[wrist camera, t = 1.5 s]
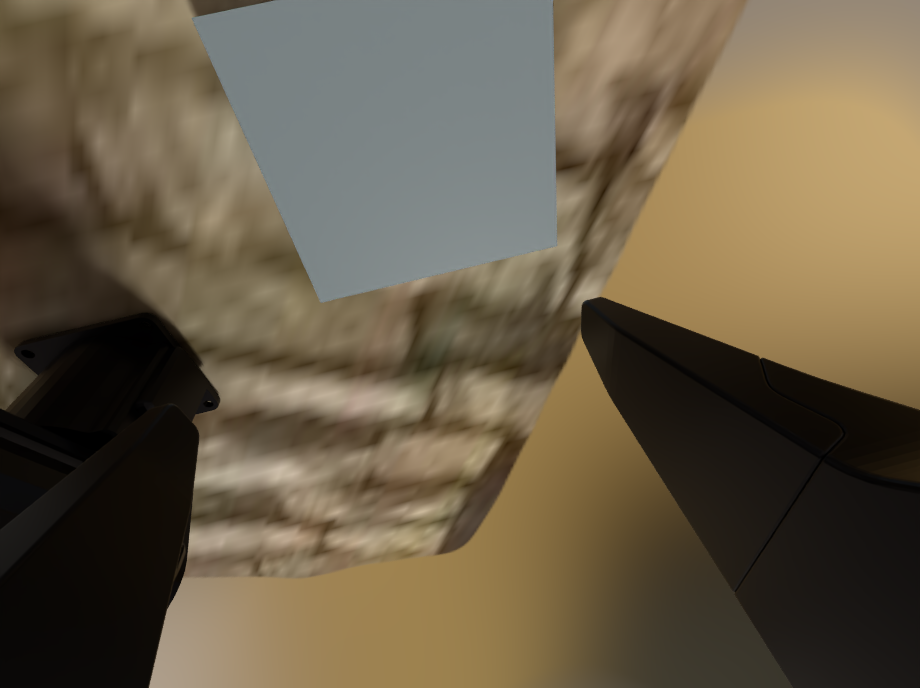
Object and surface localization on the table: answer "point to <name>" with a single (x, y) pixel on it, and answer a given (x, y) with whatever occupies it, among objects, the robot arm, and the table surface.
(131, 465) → the robot arm
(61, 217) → the table surface
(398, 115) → the slate board
